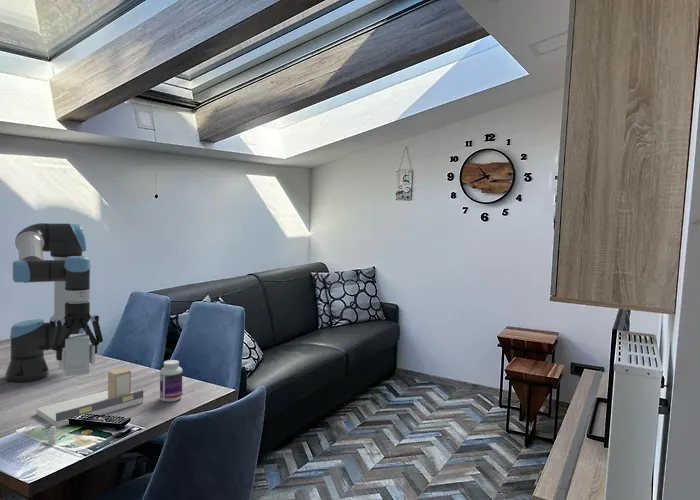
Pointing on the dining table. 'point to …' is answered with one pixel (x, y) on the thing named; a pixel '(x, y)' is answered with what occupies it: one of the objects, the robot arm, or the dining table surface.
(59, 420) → the shelf
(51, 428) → the figurine
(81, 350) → the supplement box
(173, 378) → the pill bottle
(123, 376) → the carton
